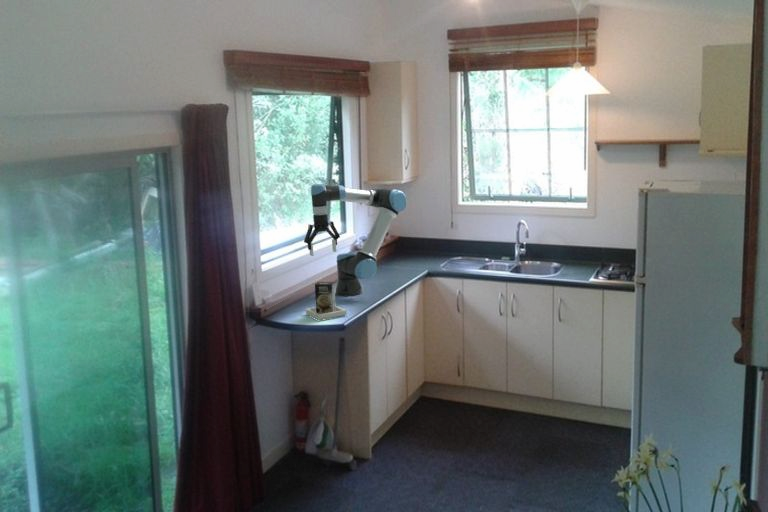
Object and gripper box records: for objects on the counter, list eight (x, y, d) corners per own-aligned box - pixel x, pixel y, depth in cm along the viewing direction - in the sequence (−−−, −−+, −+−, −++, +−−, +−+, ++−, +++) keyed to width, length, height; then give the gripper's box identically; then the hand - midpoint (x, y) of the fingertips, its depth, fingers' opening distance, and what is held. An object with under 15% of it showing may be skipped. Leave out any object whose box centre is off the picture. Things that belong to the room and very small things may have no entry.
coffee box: (315, 315, 376) (314, 284, 373) (319, 311, 382) (317, 281, 379) (333, 315, 374) (331, 284, 371) (336, 312, 380) (334, 281, 377)
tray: (333, 309, 388) (332, 304, 388) (346, 315, 375) (346, 310, 375) (306, 314, 381) (305, 308, 380) (318, 321, 368) (318, 315, 367)
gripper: (337, 210, 398) (340, 248, 403) (295, 216, 386) (298, 256, 390) (344, 211, 392) (347, 250, 396) (301, 217, 379) (305, 258, 384)
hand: (323, 253), depth 393 cm, fingers open, 13 cm apart
